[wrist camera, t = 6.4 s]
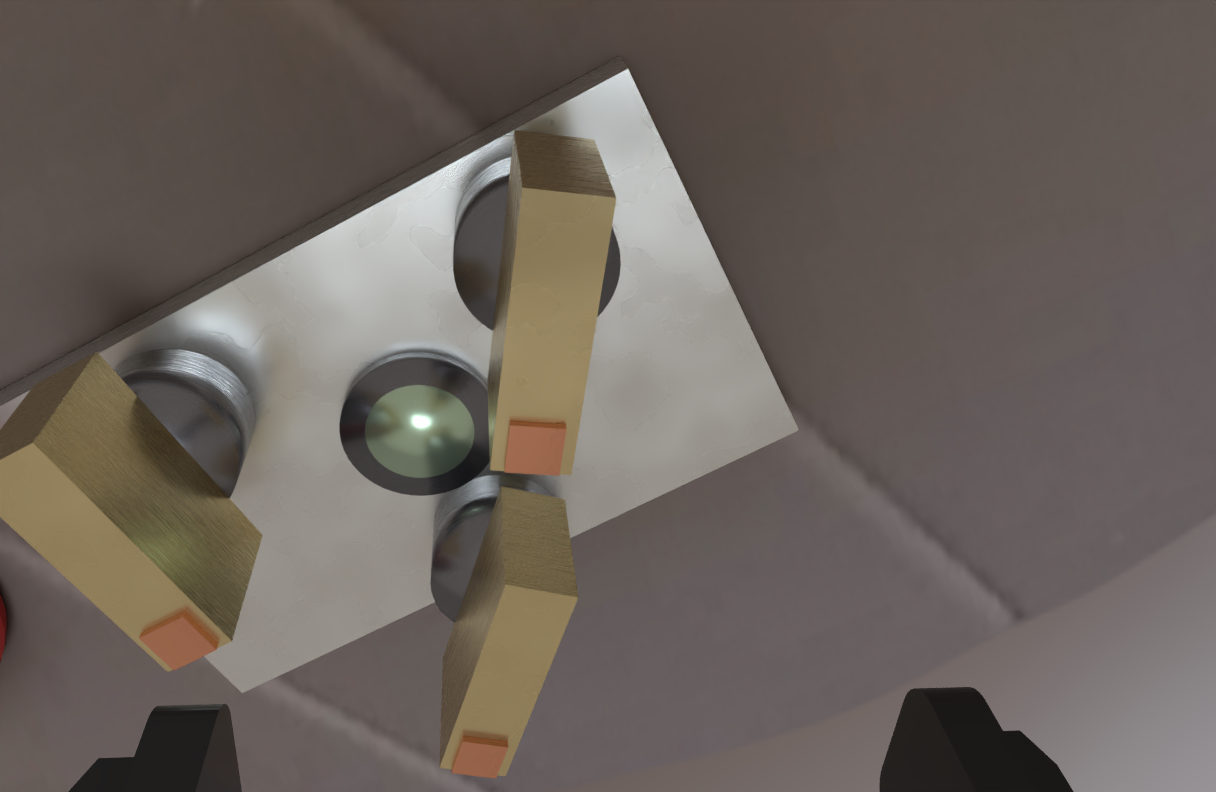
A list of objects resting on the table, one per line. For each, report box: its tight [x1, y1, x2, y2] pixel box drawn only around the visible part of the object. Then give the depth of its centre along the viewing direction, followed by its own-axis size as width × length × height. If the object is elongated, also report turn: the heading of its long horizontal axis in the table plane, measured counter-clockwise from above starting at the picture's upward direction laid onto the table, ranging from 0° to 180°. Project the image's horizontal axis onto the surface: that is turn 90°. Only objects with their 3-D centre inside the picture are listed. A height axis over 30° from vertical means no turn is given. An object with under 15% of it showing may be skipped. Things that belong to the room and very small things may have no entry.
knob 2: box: [453, 130, 621, 476], centre depth 23 cm, size 6×4×7 cm, turn 171°
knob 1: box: [0, 349, 263, 672], centre depth 25 cm, size 6×4×7 cm, turn 27°
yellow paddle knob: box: [430, 474, 578, 778], centre depth 28 cm, size 6×4×7 cm, turn 162°
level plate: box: [0, 56, 799, 693], centre depth 29 cm, size 20×12×2 cm, turn 116°
